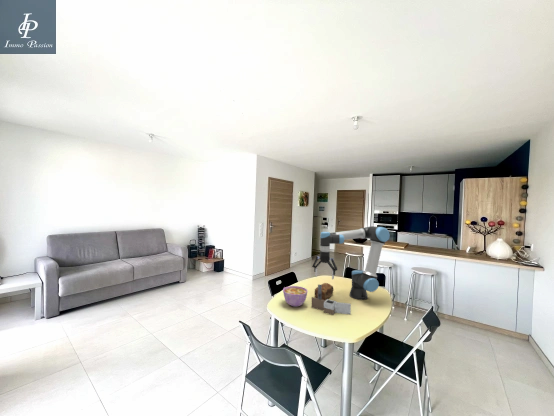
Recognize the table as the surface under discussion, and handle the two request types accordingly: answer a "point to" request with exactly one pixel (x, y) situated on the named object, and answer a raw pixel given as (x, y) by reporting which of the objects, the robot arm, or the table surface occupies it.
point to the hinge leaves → (331, 306)
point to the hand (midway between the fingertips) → (324, 277)
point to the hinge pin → (319, 291)
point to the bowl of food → (295, 295)
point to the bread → (325, 291)
